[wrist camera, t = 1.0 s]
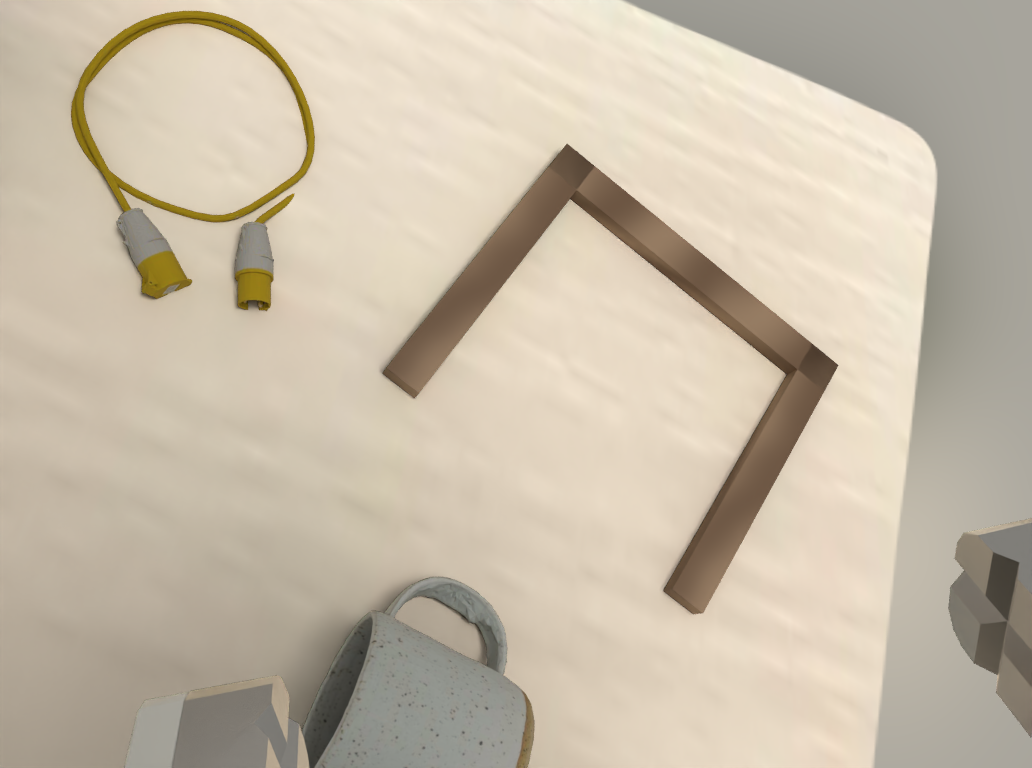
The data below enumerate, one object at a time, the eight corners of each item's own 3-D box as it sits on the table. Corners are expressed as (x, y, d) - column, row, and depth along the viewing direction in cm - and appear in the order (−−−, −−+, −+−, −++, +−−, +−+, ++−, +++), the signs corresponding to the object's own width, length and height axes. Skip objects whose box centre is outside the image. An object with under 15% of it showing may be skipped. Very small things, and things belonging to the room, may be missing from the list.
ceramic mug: (449, 848, 42) (503, 879, 35) (277, 782, 41) (298, 801, 34) (529, 619, 46) (591, 607, 40) (376, 552, 45) (412, 528, 38)
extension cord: (-3, 248, 44) (-11, 230, 42) (133, -11, 49) (131, -38, 48) (257, 342, 46) (260, 328, 44) (358, 85, 52) (364, 63, 50)
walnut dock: (382, 373, 47) (386, 367, 46) (560, 152, 54) (567, 143, 53) (693, 614, 49) (703, 613, 48) (827, 370, 56) (838, 365, 55)
